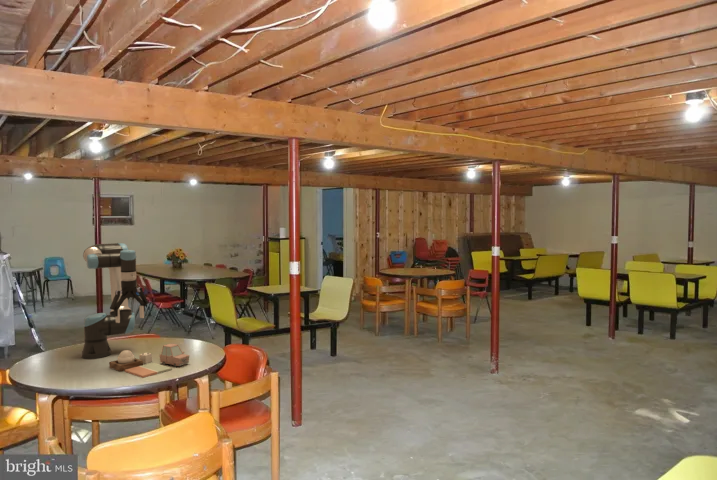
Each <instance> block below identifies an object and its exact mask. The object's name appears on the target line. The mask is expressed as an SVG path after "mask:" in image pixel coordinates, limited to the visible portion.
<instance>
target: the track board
mask: <svg viewBox="0 0 717 480" xmlns="http://www.w3.org/2000/svg"><path fill="white" fill-rule="evenodd" d="M172 370H173V368H172V367H169V366H166V365H163V364H159V363H156V362H149V363H146V364H143V365H142V366H138V367H134V368H130V369H126V370H125V371H124V373H128V374H130V375H132V376H133V375H134V376H136V377H140V378H146V377H147V378H148V377H151V376H154V375H160V374H162V373H166V372H170V371H172Z"/></svg>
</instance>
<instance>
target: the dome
mask: <svg viewBox="0 0 717 480" xmlns="http://www.w3.org/2000/svg"><path fill="white" fill-rule="evenodd" d="M134 358H135V354H133V352H132V351H131V350H129V349H123V350H122V351H121V352H120V353H119V355H118V356H117V360H118V363H119V364H122V365H123V364H127V363H132V362H134Z"/></svg>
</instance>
